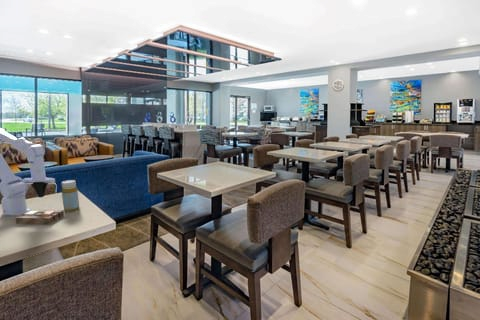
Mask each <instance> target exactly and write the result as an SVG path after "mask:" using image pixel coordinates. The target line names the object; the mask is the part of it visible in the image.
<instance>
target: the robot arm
mask: <svg viewBox="0 0 480 320" xmlns="http://www.w3.org/2000/svg"><path fill="white" fill-rule="evenodd" d="M2 142H4V143H5V142H6V143H7V144H10V145H12V147H13V148H14V149H15V150H17V151H19V152H22V153H23V154H24V156H25V157H26V159H27V161H28V165H29V170H30V171H29V172H30V176H31V177H25V178H23V179H22V177H20V176H17V175H15V174H14V172H13V171H12V169H11V168H10V166H9V164H8V163H7V161H6V160H5V158H4V156H3V154H2V153H1V152H0V180H1V181H0V194H1V195H2V196H3V197H2V199H1V200H0V204H1V205H0V206H1V210H2V211H1V212H2V213H1V215H2V216H22V214H24V213H27V212H28V211H30V210H33V209H32V208H28V206H27V200H26V194H27V192H28V189H29V186H28V183H31V184H30V186H31V187H32V188H33V190H34V191H35V192H36V194H37V196H38V198H43V197H45V192H46V189H47V186H48V184H54V183H56V178H53V177H47V176H46V169H45V162H44V161H45V160H44V156H45V154H46V149H45V146H44V145H43V144H40V143H38V144H37V143H34V142H31V141H29V140H26V138H25V137H18V138H17V137H16V136H14V135H12V134H11V133H8V132H7V131H6V130H5V129H4V128H2V127H0V145H1V144H2Z"/></svg>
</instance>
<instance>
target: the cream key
mask: <svg viewBox="0 0 480 320" xmlns="http://www.w3.org/2000/svg"><path fill="white" fill-rule="evenodd" d="M38 213H39V211H29V212H26V213H25V214H24V215H25V216H35V215H36V214H38Z"/></svg>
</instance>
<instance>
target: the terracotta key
mask: <svg viewBox="0 0 480 320" xmlns="http://www.w3.org/2000/svg"><path fill="white" fill-rule="evenodd" d="M54 213H55V211H46V212H44V213H42V214H41V216H51V215H53V214H54Z"/></svg>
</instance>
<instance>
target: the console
mask: <svg viewBox="0 0 480 320" xmlns="http://www.w3.org/2000/svg"><path fill="white" fill-rule="evenodd" d="M30 211H39V213H38V214H36V215H35V216H25V215H24V214H25V213H24V214H22V215H17V216H16V217H14V219H15V224H16V225H44V226H45V225H48V226H50V225H52V224H53V223H54V222H57V221H58V220H60V219H62V218H63V217H65V213H64V211H65V210H64V209H61V210H60V209H57V210H56V209H32V210H30ZM46 211H55V213H54V214H53V215H51V216H41V214H42V213H44V212H46ZM28 212H29V211H28Z"/></svg>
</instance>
